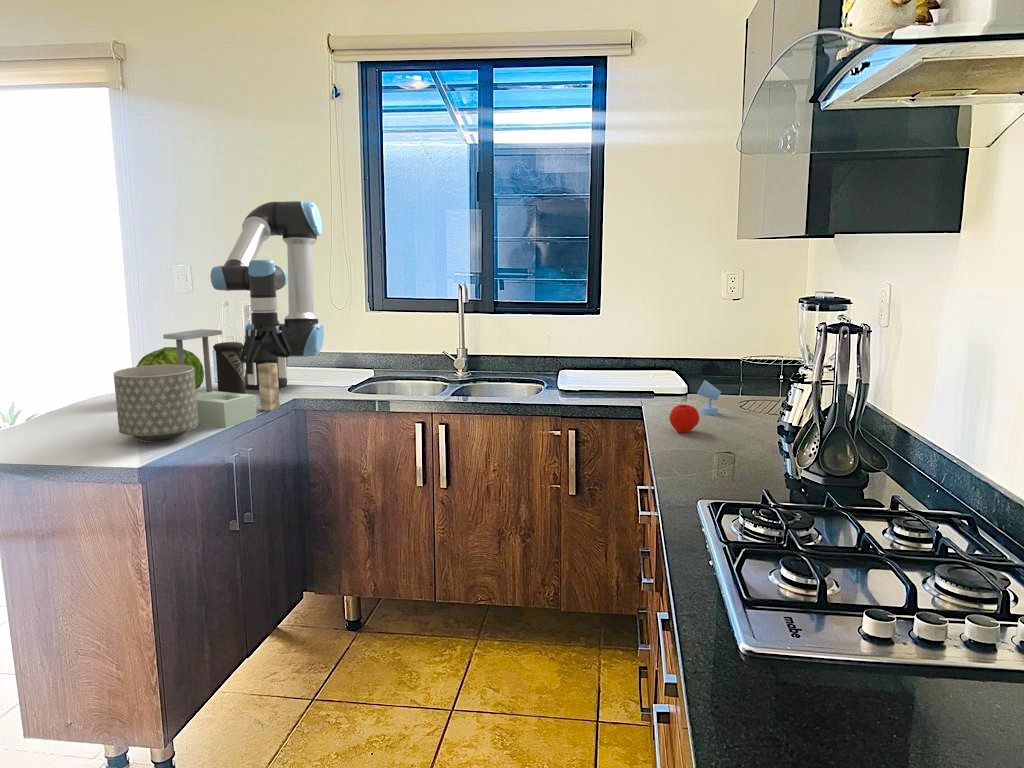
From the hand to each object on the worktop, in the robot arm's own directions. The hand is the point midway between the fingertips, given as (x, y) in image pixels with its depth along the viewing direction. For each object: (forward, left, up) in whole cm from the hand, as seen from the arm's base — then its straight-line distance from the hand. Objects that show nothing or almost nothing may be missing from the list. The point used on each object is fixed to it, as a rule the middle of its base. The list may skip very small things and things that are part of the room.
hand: (268, 381), depth 238 cm
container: (0, -15, -9) cm, 18 cm away
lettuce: (+3, -39, -9) cm, 40 cm away
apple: (-20, +123, -9) cm, 125 cm away
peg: (0, 0, -9) cm, 9 cm away
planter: (+40, -2, -9) cm, 41 cm away
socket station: (+18, -4, -9) cm, 20 cm away
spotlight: (-46, +125, -9) cm, 133 cm away
